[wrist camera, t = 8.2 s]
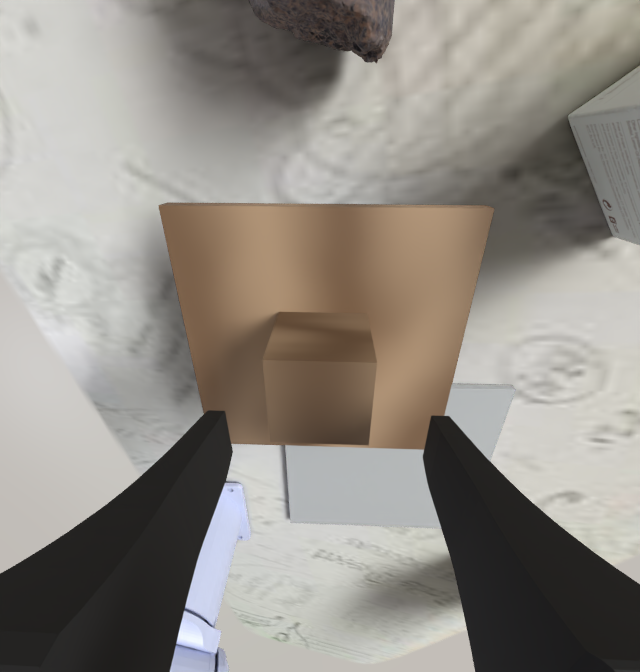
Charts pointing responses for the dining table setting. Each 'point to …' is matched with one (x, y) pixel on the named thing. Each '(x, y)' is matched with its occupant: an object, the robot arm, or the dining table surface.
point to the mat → (387, 469)
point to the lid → (325, 315)
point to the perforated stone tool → (333, 23)
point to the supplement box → (613, 152)
